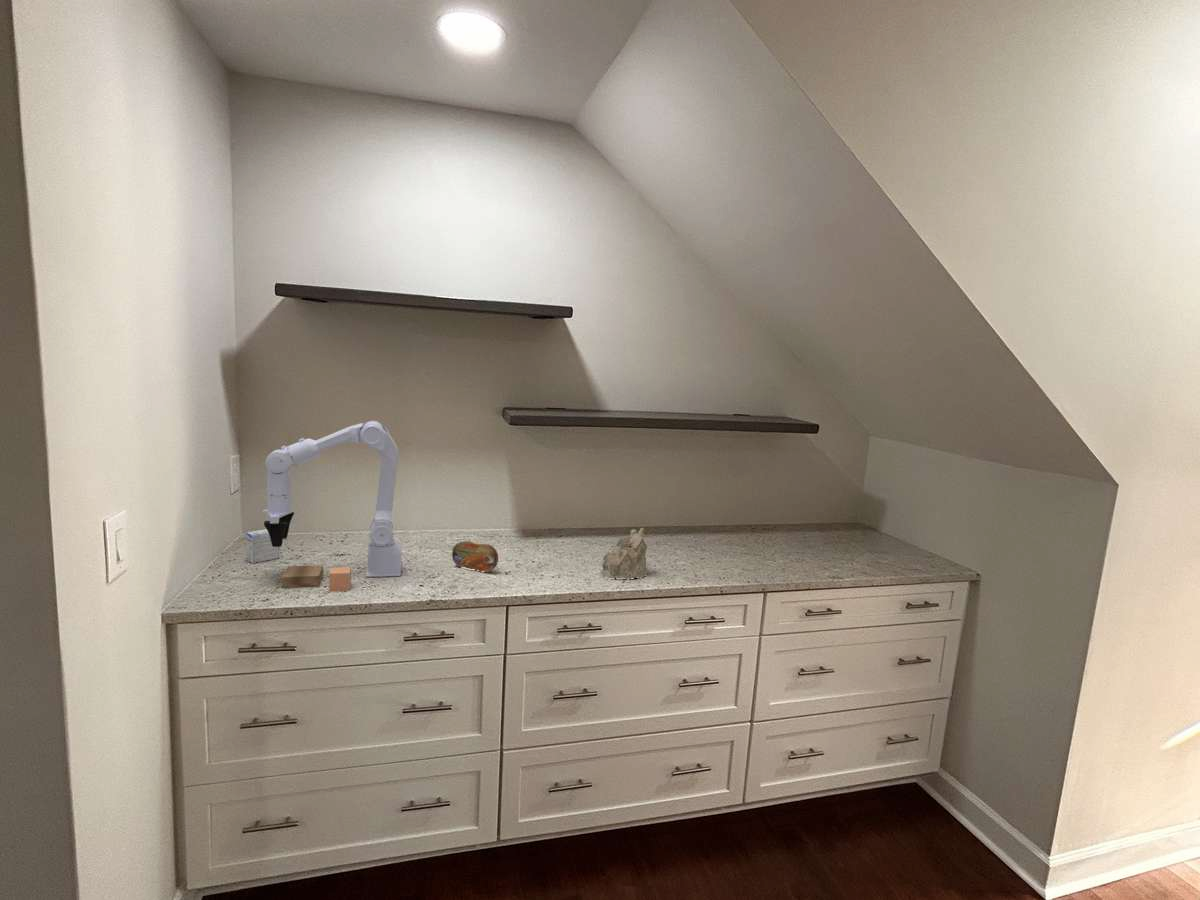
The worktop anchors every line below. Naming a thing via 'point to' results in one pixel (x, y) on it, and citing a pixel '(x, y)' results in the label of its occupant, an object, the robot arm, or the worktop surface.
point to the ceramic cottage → (626, 557)
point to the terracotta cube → (340, 579)
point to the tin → (475, 556)
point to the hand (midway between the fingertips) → (279, 542)
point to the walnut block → (302, 576)
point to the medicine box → (260, 547)
